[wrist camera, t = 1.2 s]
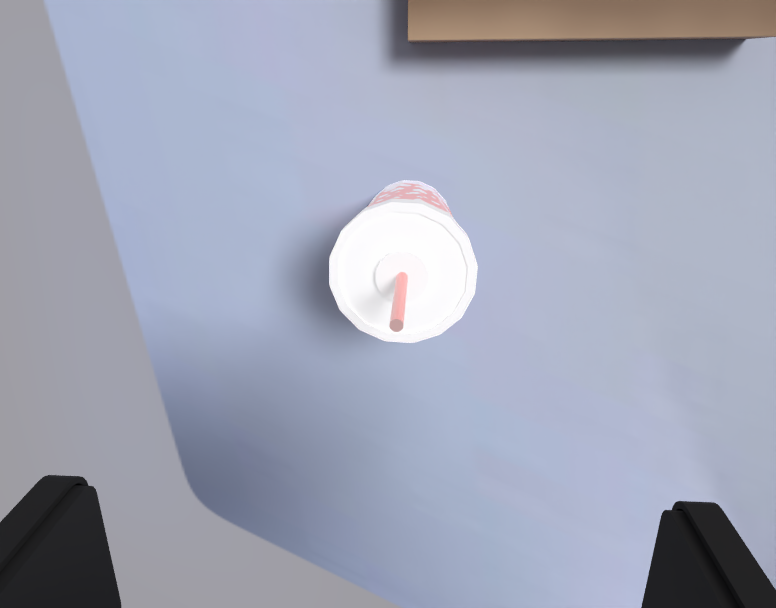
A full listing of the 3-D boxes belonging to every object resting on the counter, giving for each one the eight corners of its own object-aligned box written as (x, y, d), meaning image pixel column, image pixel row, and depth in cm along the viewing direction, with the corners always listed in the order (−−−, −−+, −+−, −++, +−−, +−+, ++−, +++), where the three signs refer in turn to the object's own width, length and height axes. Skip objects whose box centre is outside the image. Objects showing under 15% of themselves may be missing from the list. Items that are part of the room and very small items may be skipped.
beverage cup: (366, 152, 31) (324, 214, 19) (479, 181, 32) (515, 262, 19) (342, 260, 34) (289, 382, 21) (447, 286, 34) (460, 423, 21)
